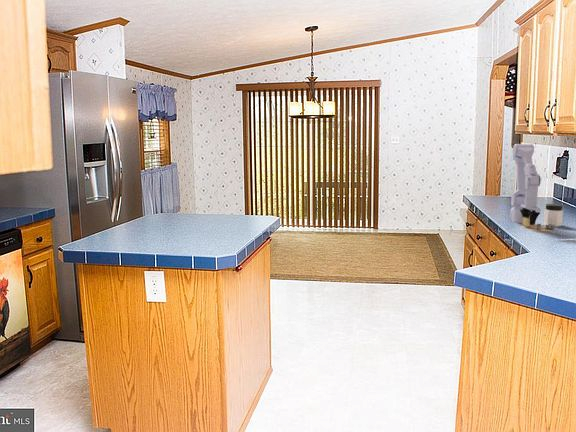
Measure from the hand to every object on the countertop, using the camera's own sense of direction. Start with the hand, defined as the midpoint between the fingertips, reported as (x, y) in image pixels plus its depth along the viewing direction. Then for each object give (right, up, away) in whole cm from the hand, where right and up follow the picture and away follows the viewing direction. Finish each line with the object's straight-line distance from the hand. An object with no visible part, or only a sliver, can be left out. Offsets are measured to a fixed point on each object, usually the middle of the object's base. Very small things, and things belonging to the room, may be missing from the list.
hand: (528, 223), depth 283 cm
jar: (+16, -2, +8) cm, 18 cm away
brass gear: (0, -1, 0) cm, 1 cm away
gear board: (+4, -3, -2) cm, 5 cm away
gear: (+9, -3, -5) cm, 10 cm away
